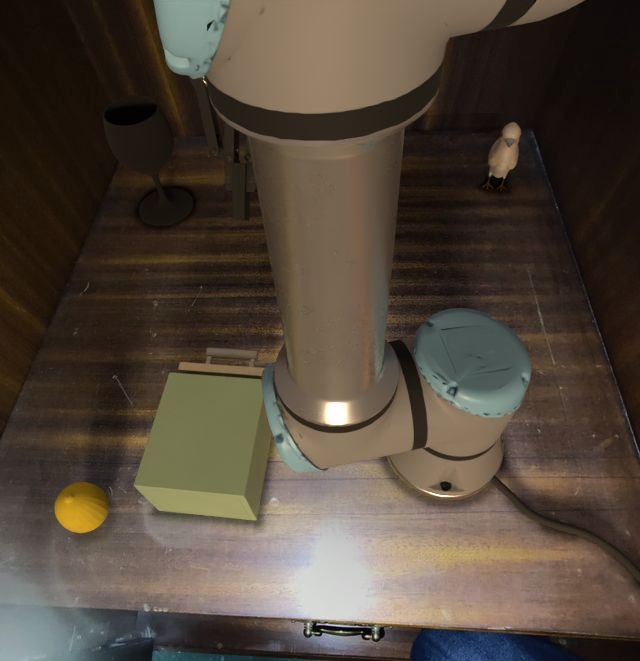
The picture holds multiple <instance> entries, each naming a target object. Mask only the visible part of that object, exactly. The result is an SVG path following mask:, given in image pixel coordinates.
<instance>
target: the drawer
mask: <svg viewBox="0 0 640 661" xmlns="http://www.w3.org/2000/svg"><path fill="white" fill-rule="evenodd" d="M205 354H206V360H205V363H201V362H185V361H179V364H178V368H177V371H178V373H184V374H198V375H211V376H225V377H238V378H252V379H262V372H263V370H264V369H265V367H258V366H257V367H256V366H255V364H256V362H257V361H258V359H259V351H258V350H251V349H237V348H236V349H235V348H219V347H207V348H206V353H205ZM213 359H220V360H221V359H222V360H234V361H235V360H236V361H247V362H248V361H249V363H248V366H242V365H230V364H229V365H228V364H227V365H226V364H215V363H212V362H213Z"/></svg>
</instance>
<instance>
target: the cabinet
mask: <svg viewBox="0 0 640 661" xmlns="http://www.w3.org/2000/svg"><path fill="white" fill-rule="evenodd" d="M261 380H262V379H252V378H238V377H225V376H211V375H198V374H184V373H179V372H169V373H168V375H167V378H166V382H165V384H164V388H163V391H162V394H161V397H160V400H159V403H158V407H157V410H156V413H155V416H154V419H153V422H152V425H151V429H150V432H149V435H148V438H147V441H146V445H145V448H144V451H143V454H142V457H141V460H140V463H139V466H138V470H137V473H136V476H135V479H134V481H133V487H135V489H136V490H137V491H138V492H139V493H140V494H141V495H142V496H143V497H144V498H145V499H146V500H147V501H148V502H149V503H150V504H151V505H152V506H153V507H154V508H156V509H157V510H158V511H159V512H167V513H178V514H186V515H187V514H188V515H197V516H198V515H199V516H207V517H217V518H218V517H219V518H228V519H237V520H246V521H247V520H248V521H254V522H255V521H258V517H259V512H260V505H261V499H262V494H263V488H264V483H265V476H266V470H267V466H268V459H269V452H270V449H271V442H272V436H273V433H272V431H271V429H270V426H269V423H268V419H267V414H266V410H265V405H264V399H263V393H262V381H261Z"/></svg>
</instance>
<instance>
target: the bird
mask: <svg viewBox="0 0 640 661" xmlns="http://www.w3.org/2000/svg"><path fill="white" fill-rule="evenodd" d="M521 135H522V129H521V127H520V126H519V125H518V123H516V122H515V121H512V122H509V123H507V124H506V125H505V126H504V127H503V128H502V130H501V133H500V137H498V139H496V141H495V142H494V143H493V145H492V146H491V148H490V151H489V152H488V153H489V154H488V156H487V157H488V158H487V165H488V166H489V171H488V180H487V182H485V183H484V184H483V185H482V187H481V188H484V187H485V186H486V190H488V189H489V187H491V189H492V190H493V189H494V187H493V185H491V182H490V180H491V177H492V176H493V177H495V178H497V179H500V178H502V181H501V184H499V185H498V186H497V187H496V189H495V190H498V189H500V192H502V190H503V189H504V190H505V191H506V192H507V191H508V190H507V188H506V187H505V186H504V182H505V179H506V178H507V176H508V173H509V172H510V170H513V169H514V168H516V166H517V164H518V161H519V160H518V159H519V142H520V140H521Z"/></svg>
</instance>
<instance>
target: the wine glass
mask: <svg viewBox="0 0 640 661" xmlns="http://www.w3.org/2000/svg"><path fill="white" fill-rule="evenodd" d="M102 118H103V120H102V121H103V127H104V133H105V138H106V140H107V144H108V145H109V148H110V150H111V152H112V153H113V155H114V157H115V159H116V160H118V161H119V163H120V164H122V165H123V166H124V167H125V168H127V169H128V170H130V171H132V172H134V173H137V174H140V175H145V176H150V177H151V179H152V180H153V183H154V185H155V188H156V191H153V192H151V193H150V194H148V195H146V197H145V198H143V200H142V201H141V202H140V204H139V207H138V214H139V217H140V218H141V220H142V221H143V222H144V223H146V224H148V225H151V226H156V227H167V226H172V225H174V224H178V223H179V222H181V221H183V220H184V219H186V218H187V217H188V216H189V215H190V214H191V213H192V211H193V210H194V204H195V203H194V202H195V201H194V198H193V196H192V195H191V193H189V192H188V191H187V190H184V189H183V188H182V189H181V188H177V187H167V188H163V186H162V183H161V180H160V175H159V173H160V172H161V171H163V169H165V168H166V166H167V165H168V164H169V162H170V161H171V159H172V156H173V153H174V147H175V145H174V144H175V140H174V133H173V129H172V126H171V124H170V122H169V119H168V117H167V115H166V113H165V112H164V110H163V109H162V107H161V106H160V104H159V103H158V101H157V100H156V99H155V98H153V97H151V96H149V95H144V94H131V95H126V96H123V97H119V98H116V100H113V101H112V102H110V103H109V104H108V105H107V106H106V107H105V108H104V110H103V113H102Z"/></svg>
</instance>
